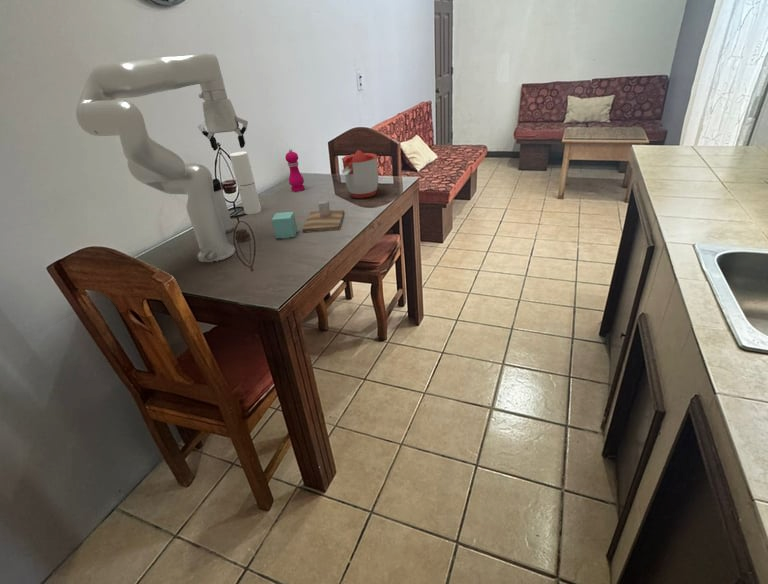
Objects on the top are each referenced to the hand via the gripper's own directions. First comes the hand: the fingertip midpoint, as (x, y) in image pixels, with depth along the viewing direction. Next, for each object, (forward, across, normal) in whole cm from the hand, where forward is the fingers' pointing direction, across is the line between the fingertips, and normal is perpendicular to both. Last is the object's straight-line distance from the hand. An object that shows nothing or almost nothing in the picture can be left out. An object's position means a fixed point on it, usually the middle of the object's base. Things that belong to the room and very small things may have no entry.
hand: (229, 148), depth 150 cm
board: (+31, +29, +1) cm, 43 cm away
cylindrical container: (+32, -5, +22) cm, 39 cm away
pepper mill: (+32, +12, +49) cm, 59 cm away
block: (+30, +30, +5) cm, 42 cm away
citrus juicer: (+32, +44, +31) cm, 62 cm away
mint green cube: (+31, +16, -9) cm, 36 cm away
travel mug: (+32, -11, +2) cm, 33 cm away
